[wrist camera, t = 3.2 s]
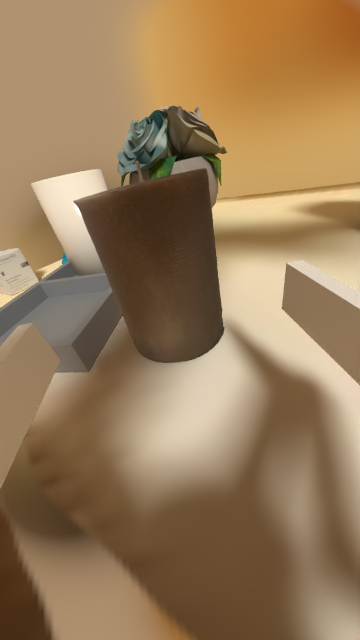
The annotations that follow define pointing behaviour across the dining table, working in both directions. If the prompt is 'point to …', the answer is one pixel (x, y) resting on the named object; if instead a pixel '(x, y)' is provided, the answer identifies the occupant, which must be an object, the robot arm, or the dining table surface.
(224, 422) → the dining table surface
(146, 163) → the flower arrangement
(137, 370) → the dining table surface
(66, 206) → the white candle
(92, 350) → the tray
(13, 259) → the skincare box
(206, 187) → the pillar candle
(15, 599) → the dining table surface
